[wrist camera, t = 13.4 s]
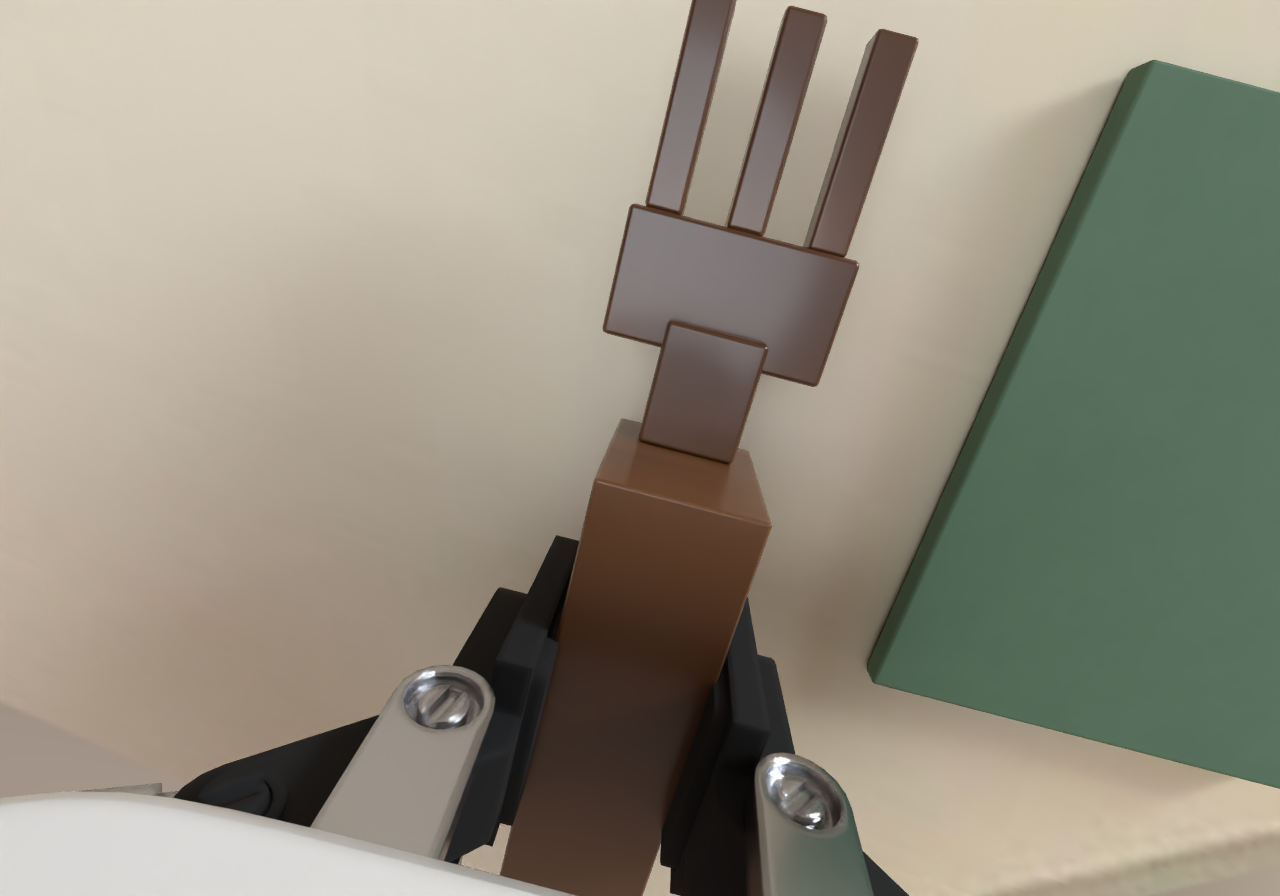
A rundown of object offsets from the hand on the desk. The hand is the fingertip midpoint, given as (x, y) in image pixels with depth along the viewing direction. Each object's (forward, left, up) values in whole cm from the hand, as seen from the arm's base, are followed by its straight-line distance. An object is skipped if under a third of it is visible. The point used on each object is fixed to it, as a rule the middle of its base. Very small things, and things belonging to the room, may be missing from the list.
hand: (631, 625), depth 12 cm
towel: (+5, -11, -2) cm, 12 cm away
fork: (+3, 0, 0) cm, 3 cm away
